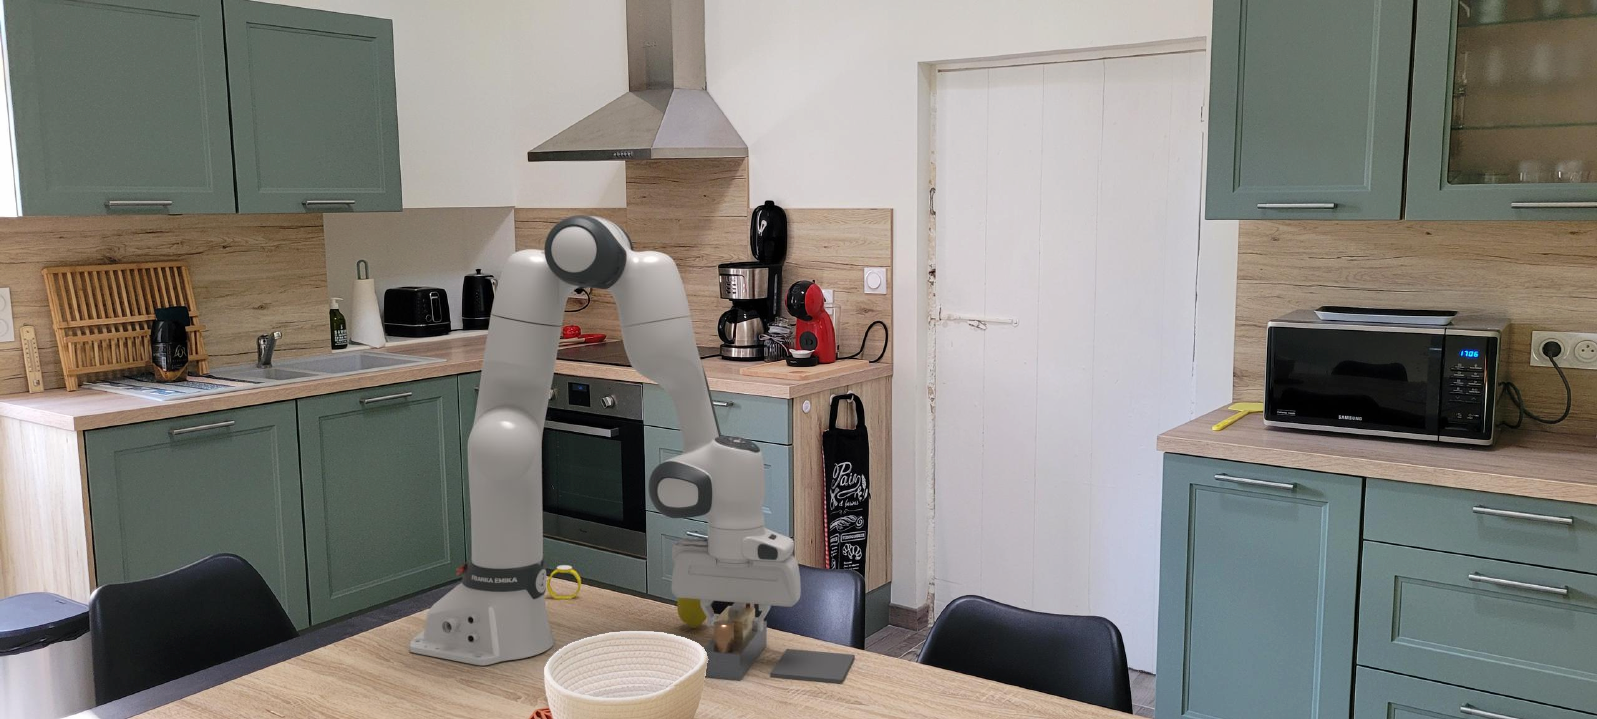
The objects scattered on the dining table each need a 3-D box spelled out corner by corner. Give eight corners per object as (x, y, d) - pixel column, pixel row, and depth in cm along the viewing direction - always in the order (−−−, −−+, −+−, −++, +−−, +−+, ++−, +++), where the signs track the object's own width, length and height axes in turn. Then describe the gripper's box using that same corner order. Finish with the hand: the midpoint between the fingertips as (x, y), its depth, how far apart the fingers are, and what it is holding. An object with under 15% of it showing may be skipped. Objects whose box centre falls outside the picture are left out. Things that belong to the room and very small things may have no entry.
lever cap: (715, 641, 178) (715, 612, 178) (728, 627, 185) (728, 599, 185) (743, 643, 177) (743, 615, 177) (754, 629, 184) (755, 601, 184)
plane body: (701, 676, 174) (701, 618, 173) (730, 641, 190) (731, 588, 189) (740, 680, 173) (740, 621, 172) (766, 644, 189) (767, 590, 188)
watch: (580, 597, 214) (583, 566, 213) (578, 602, 211) (580, 570, 210) (548, 595, 214) (550, 563, 213) (545, 599, 211) (547, 567, 210)
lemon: (704, 634, 193) (705, 587, 192) (672, 632, 194) (673, 585, 194) (713, 624, 199) (714, 578, 198) (682, 621, 200) (682, 576, 199)
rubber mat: (770, 676, 175) (770, 672, 175) (786, 652, 185) (786, 648, 185) (841, 683, 172) (842, 679, 172) (854, 658, 183) (854, 654, 183)
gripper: (665, 541, 179) (665, 629, 180) (794, 551, 174) (793, 640, 176) (678, 532, 185) (678, 616, 186) (803, 541, 181) (802, 627, 182)
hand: (735, 628), depth 181 cm, fingers open, 6 cm apart
